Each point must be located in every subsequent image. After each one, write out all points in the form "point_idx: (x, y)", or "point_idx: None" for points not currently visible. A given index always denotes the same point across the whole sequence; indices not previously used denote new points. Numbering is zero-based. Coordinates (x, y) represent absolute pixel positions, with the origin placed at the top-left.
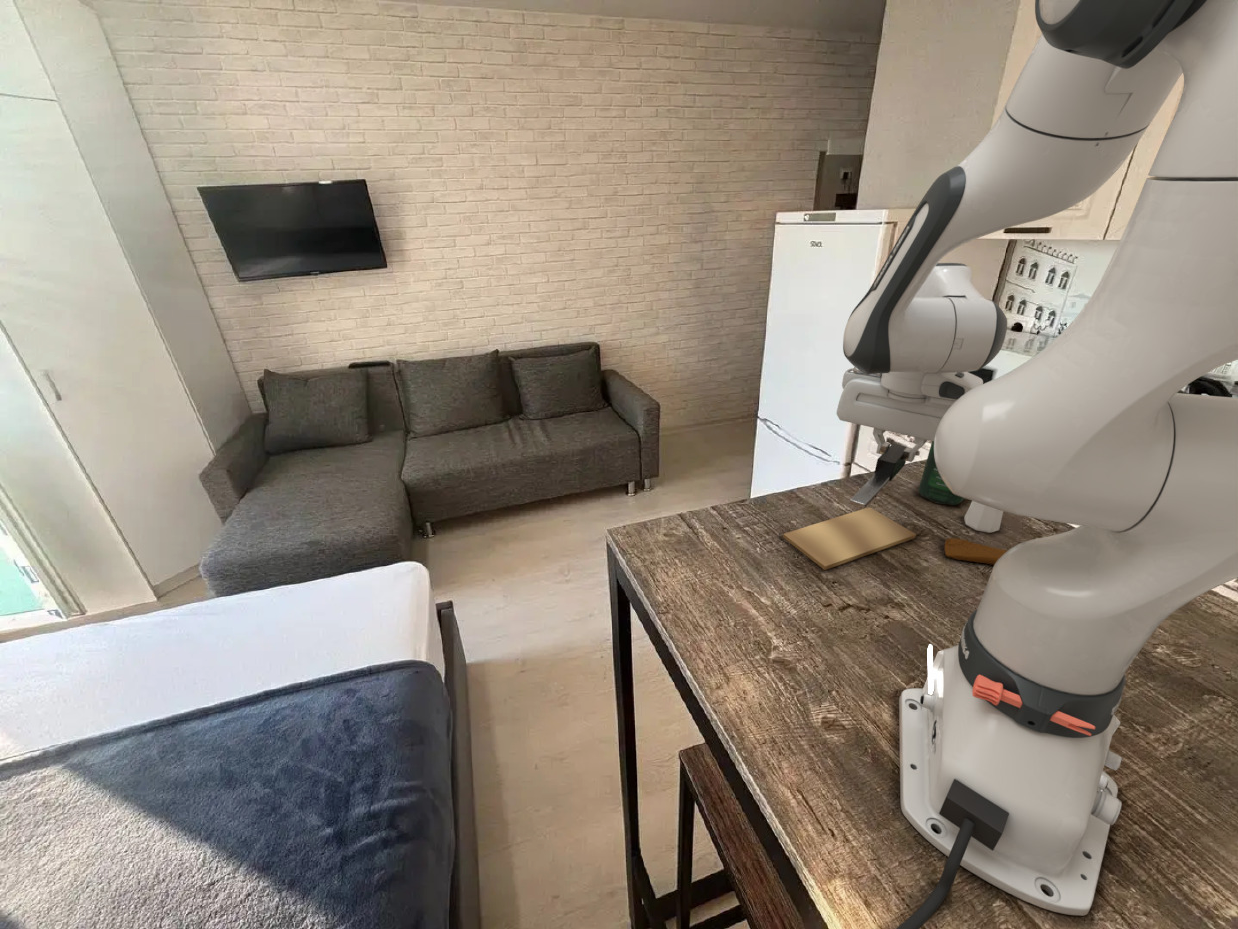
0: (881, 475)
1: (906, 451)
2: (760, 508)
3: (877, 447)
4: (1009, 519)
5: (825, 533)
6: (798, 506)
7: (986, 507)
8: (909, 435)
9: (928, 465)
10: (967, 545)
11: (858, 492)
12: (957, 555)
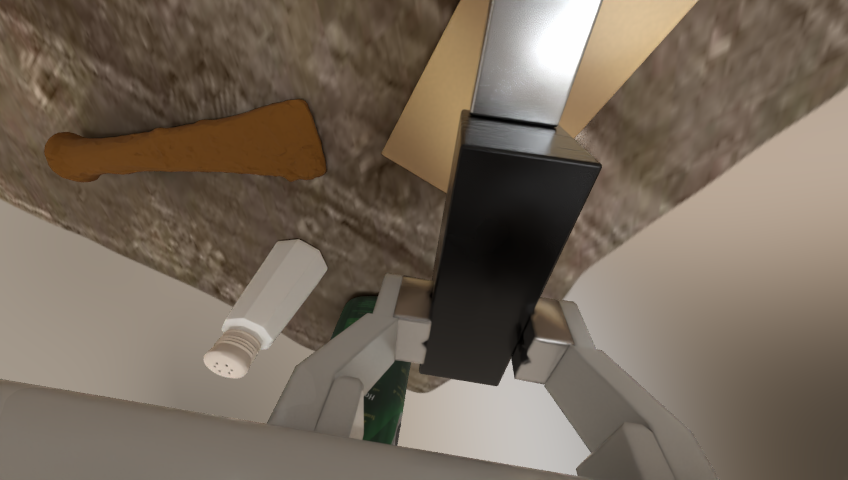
0: (522, 100)
1: (413, 318)
2: (842, 72)
3: (586, 328)
4: None
5: (619, 2)
6: (686, 153)
7: (269, 276)
8: (388, 451)
9: (399, 369)
10: (278, 157)
11: None
12: (280, 104)
